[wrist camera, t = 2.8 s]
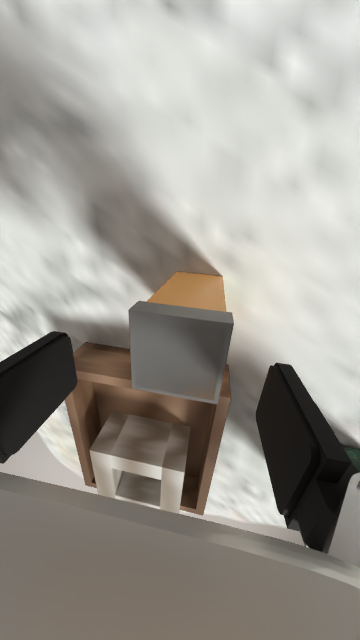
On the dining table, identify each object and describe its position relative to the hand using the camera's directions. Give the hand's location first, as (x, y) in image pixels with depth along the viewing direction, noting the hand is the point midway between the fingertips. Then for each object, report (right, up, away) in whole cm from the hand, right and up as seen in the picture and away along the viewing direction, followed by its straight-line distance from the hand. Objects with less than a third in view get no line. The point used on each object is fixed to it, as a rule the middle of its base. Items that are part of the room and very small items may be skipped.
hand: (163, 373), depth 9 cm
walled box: (-3, -10, +16) cm, 20 cm away
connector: (+2, +5, +9) cm, 10 cm away
